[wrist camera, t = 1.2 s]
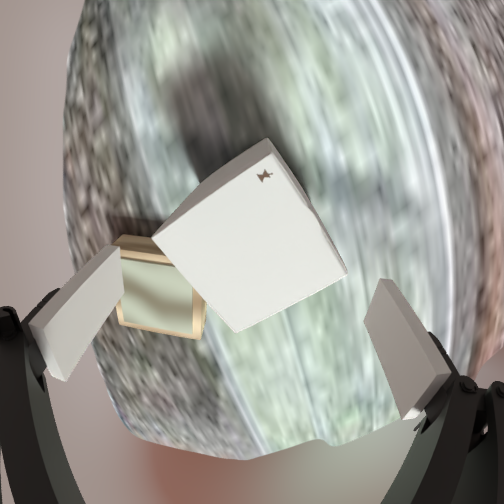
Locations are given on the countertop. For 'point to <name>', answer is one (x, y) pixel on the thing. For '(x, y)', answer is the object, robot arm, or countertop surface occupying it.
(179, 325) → the tan picture frame
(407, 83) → the countertop surface
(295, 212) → the supplement box
